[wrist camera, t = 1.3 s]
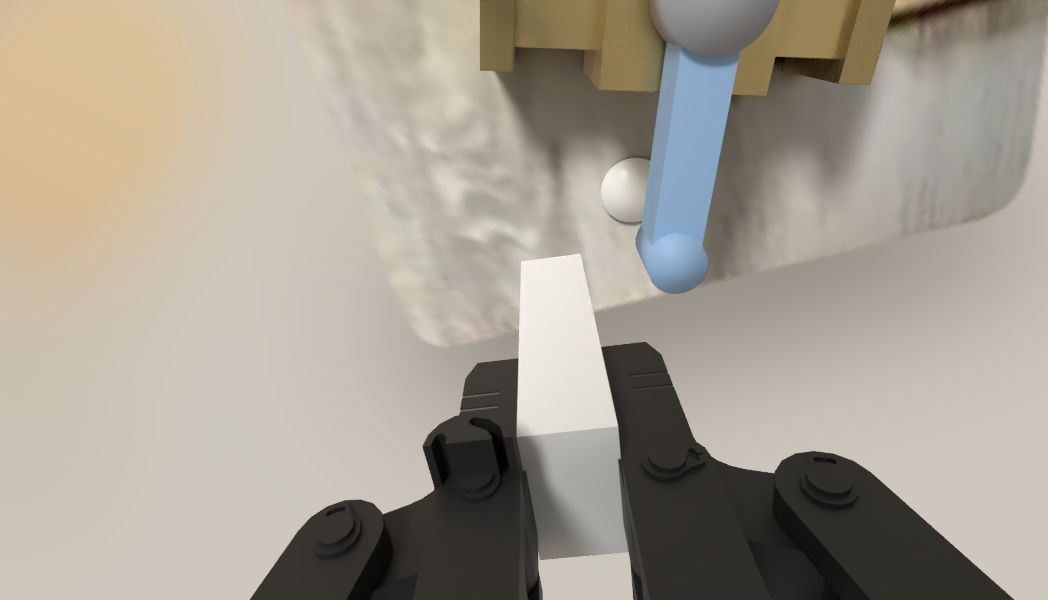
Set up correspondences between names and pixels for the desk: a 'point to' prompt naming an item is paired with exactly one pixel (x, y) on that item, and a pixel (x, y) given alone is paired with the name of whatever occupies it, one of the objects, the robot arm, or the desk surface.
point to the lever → (691, 129)
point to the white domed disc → (626, 189)
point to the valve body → (639, 51)
